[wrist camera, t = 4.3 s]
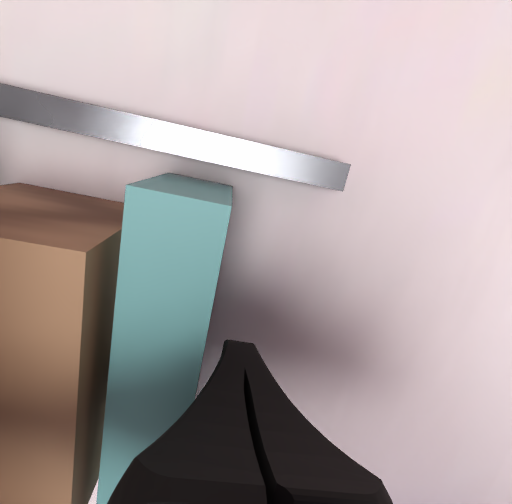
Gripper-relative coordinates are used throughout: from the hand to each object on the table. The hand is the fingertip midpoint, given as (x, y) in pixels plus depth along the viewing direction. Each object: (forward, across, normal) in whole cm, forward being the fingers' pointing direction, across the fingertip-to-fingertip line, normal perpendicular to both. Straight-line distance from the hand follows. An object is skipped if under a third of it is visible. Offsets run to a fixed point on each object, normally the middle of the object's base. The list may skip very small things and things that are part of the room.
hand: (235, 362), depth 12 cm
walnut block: (+2, +7, 0) cm, 7 cm away
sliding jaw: (+2, +3, 0) cm, 3 cm away
